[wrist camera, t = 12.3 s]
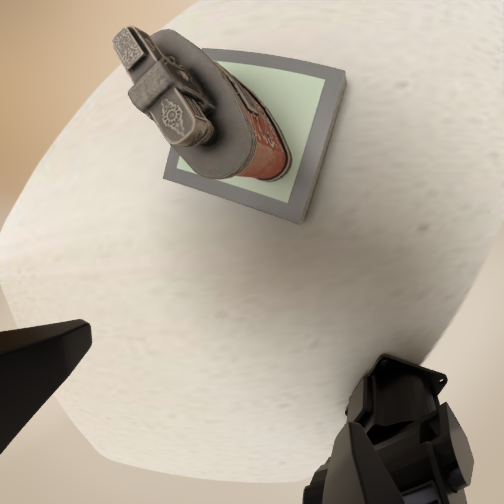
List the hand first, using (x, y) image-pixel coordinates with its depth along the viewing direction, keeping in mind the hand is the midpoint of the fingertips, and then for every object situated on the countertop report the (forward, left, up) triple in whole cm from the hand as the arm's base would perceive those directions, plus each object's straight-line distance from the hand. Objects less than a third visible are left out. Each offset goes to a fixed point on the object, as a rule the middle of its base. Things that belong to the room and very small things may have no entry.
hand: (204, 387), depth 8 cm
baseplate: (+5, -9, -13) cm, 17 cm away
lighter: (+5, -9, -11) cm, 15 cm away
